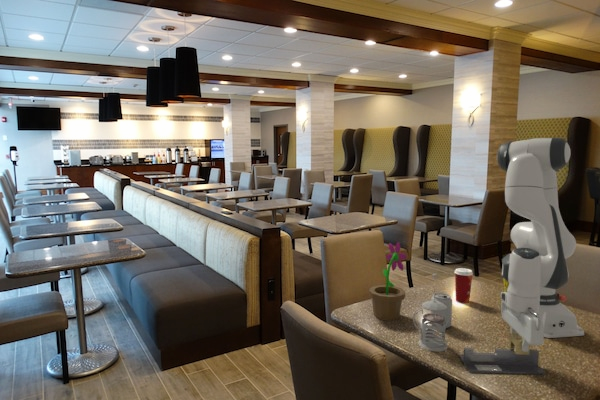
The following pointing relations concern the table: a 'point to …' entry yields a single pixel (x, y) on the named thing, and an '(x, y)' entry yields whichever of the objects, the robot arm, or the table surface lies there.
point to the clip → (516, 344)
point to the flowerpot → (388, 290)
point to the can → (446, 313)
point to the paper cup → (463, 284)
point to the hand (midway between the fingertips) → (519, 345)
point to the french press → (427, 336)
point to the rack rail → (502, 362)
